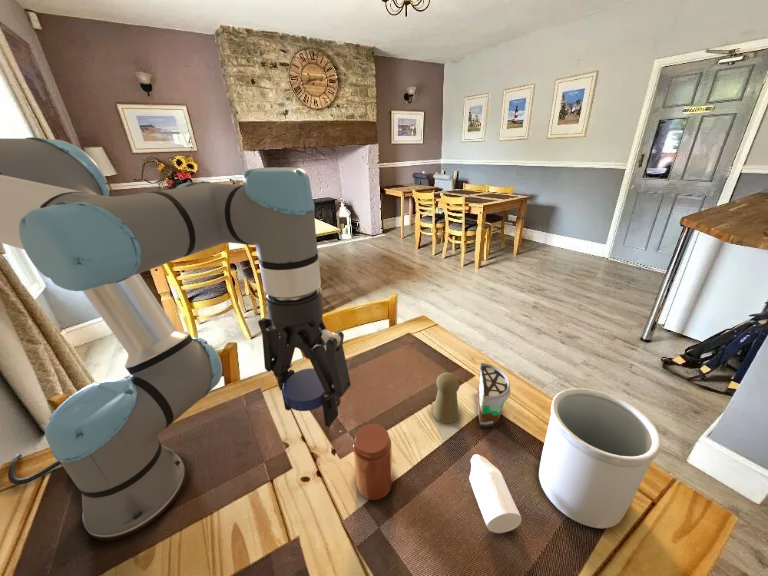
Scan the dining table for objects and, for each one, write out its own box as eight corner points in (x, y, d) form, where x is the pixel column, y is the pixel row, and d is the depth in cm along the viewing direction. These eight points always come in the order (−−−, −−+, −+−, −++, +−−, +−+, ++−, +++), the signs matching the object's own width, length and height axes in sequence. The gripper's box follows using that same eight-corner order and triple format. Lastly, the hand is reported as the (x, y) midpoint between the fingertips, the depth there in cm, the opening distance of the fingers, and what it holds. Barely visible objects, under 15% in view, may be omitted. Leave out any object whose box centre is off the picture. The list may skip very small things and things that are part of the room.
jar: (354, 498, 57) (349, 453, 52) (360, 464, 63) (356, 421, 58) (390, 501, 56) (389, 456, 51) (393, 466, 62) (392, 423, 57)
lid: (340, 385, 52) (339, 376, 51) (312, 418, 46) (311, 408, 45) (304, 372, 55) (303, 363, 54) (274, 401, 48) (272, 391, 48)
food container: (509, 436, 68) (516, 401, 64) (480, 431, 69) (485, 398, 65) (501, 395, 79) (507, 364, 75) (476, 392, 80) (480, 361, 76)
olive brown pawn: (463, 418, 73) (467, 382, 68) (441, 426, 71) (443, 389, 66) (449, 400, 78) (452, 365, 73) (428, 408, 76) (430, 372, 72)
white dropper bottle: (489, 464, 62) (492, 444, 60) (519, 530, 52) (525, 510, 49) (460, 467, 62) (462, 448, 60) (484, 535, 51) (488, 515, 49)
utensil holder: (518, 459, 63) (533, 393, 56) (582, 446, 66) (605, 381, 58) (570, 541, 50) (599, 469, 43) (648, 521, 52) (689, 450, 45)
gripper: (372, 291, 41) (375, 416, 51) (258, 268, 49) (279, 380, 59) (342, 317, 35) (352, 453, 45) (217, 286, 43) (249, 408, 53)
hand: (311, 412), depth 52 cm, fingers closed on lid, 7 cm apart
